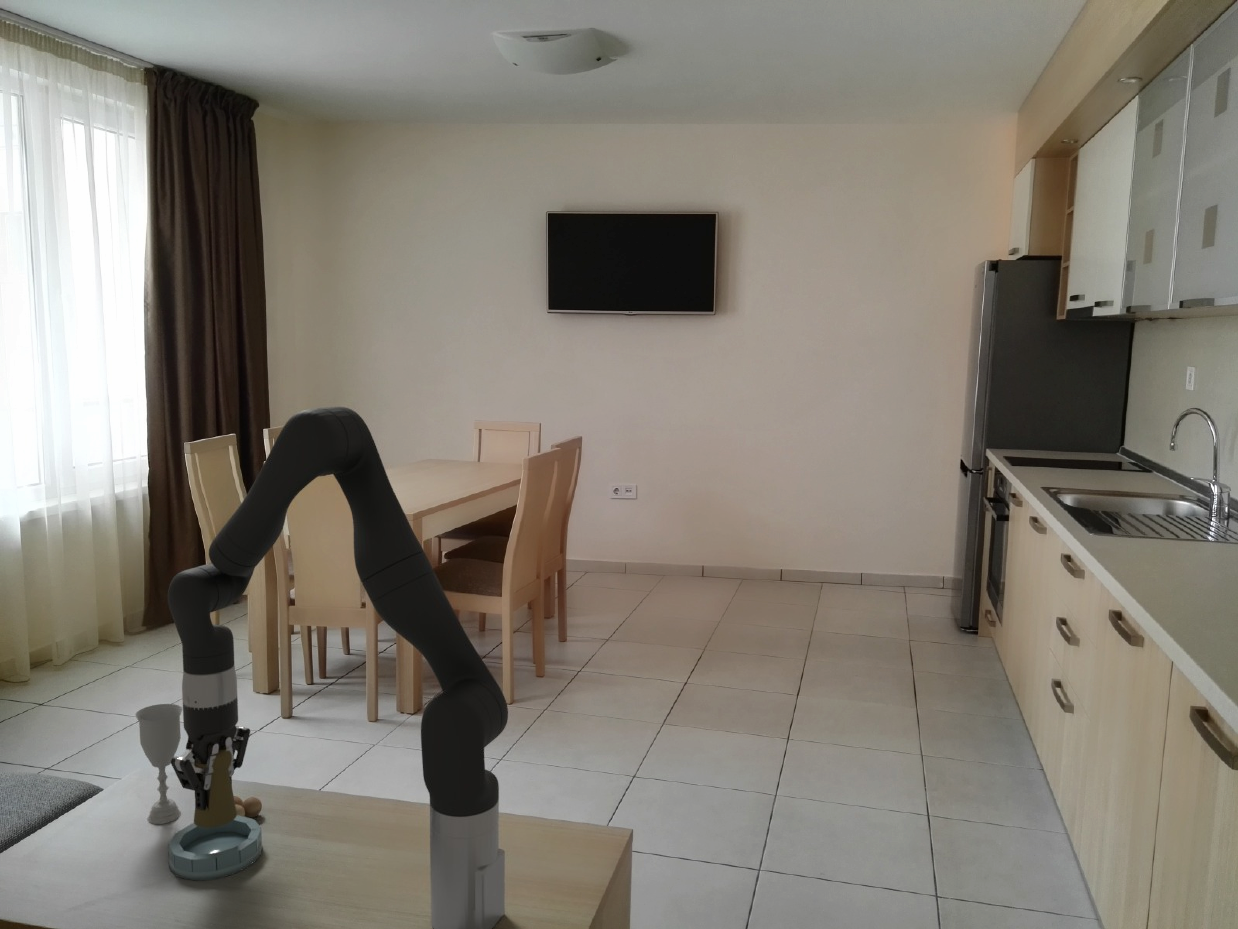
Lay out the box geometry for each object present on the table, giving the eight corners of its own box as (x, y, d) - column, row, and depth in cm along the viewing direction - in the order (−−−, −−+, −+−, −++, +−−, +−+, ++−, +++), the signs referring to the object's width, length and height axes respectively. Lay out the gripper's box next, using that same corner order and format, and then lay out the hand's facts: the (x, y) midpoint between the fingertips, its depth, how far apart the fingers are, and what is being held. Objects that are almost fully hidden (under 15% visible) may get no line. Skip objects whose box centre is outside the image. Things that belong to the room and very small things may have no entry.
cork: (221, 830, 139) (218, 759, 137) (184, 825, 140) (181, 755, 138) (245, 810, 144) (242, 742, 143) (210, 805, 146) (207, 738, 144)
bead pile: (265, 811, 157) (265, 793, 156) (250, 829, 151) (250, 811, 150) (227, 810, 157) (227, 792, 156) (211, 828, 151) (210, 810, 150)
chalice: (196, 813, 155) (192, 710, 153) (157, 831, 150) (152, 724, 147) (170, 802, 159) (165, 700, 157) (131, 818, 153) (126, 713, 151)
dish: (280, 844, 146) (279, 825, 146) (217, 888, 134) (216, 867, 134) (215, 827, 151) (215, 808, 151) (149, 868, 139) (148, 848, 139)
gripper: (192, 717, 132) (197, 832, 134) (263, 684, 145) (267, 789, 147) (152, 709, 134) (157, 822, 137) (226, 677, 147) (229, 780, 150)
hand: (214, 804), depth 142 cm, fingers closed on cork, 3 cm apart
